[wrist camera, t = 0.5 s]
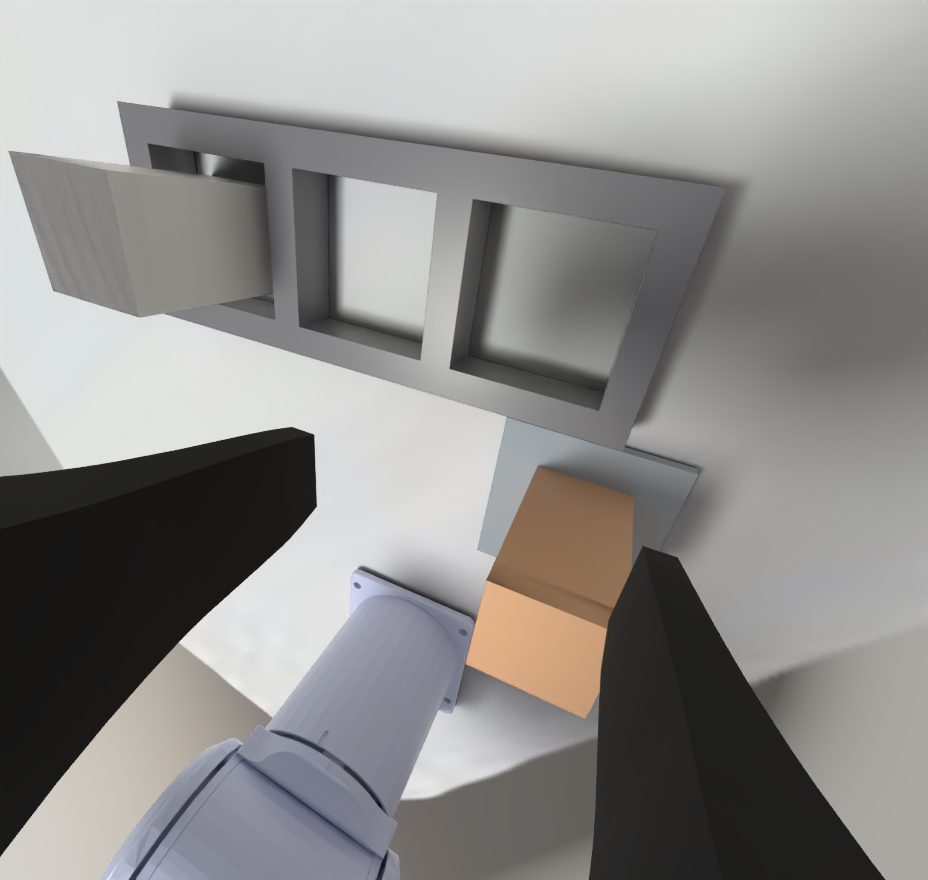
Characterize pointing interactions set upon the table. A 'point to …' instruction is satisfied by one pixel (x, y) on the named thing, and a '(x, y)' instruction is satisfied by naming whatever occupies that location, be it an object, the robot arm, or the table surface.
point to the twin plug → (146, 234)
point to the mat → (625, 471)
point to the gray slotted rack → (437, 258)
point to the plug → (555, 590)
